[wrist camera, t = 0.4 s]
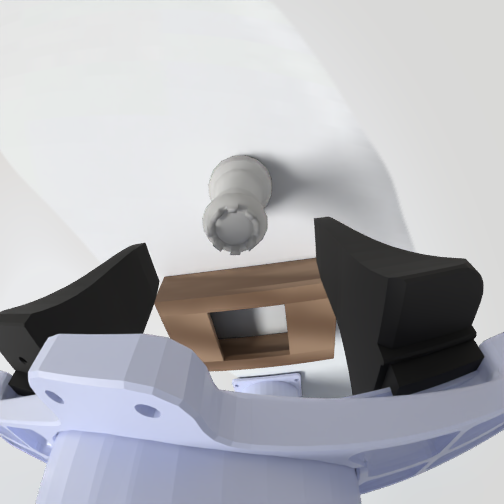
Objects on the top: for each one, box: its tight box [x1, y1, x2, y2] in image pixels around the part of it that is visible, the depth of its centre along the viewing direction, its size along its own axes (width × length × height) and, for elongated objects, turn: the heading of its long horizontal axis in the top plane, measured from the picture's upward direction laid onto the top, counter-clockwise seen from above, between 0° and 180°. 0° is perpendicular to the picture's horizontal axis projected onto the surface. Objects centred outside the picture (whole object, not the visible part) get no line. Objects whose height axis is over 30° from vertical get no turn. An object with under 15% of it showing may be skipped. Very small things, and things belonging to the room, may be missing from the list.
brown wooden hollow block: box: [154, 258, 336, 371], centre depth 25 cm, size 9×14×4 cm, turn 99°
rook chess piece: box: [202, 155, 272, 255], centre depth 17 cm, size 4×4×8 cm
